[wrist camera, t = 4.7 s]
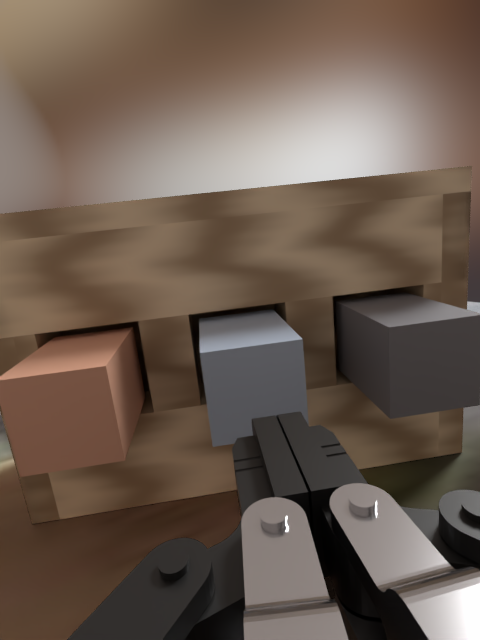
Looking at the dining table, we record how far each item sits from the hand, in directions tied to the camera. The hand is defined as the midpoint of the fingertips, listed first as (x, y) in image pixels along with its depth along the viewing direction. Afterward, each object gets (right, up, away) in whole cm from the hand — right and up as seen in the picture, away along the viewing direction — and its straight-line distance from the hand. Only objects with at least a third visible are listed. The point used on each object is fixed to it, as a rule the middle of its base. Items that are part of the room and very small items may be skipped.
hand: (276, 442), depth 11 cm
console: (-1, -5, +15) cm, 15 cm away
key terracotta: (-8, -1, +6) cm, 10 cm away
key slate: (-1, 0, +7) cm, 7 cm away
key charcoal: (+7, 0, +7) cm, 10 cm away
